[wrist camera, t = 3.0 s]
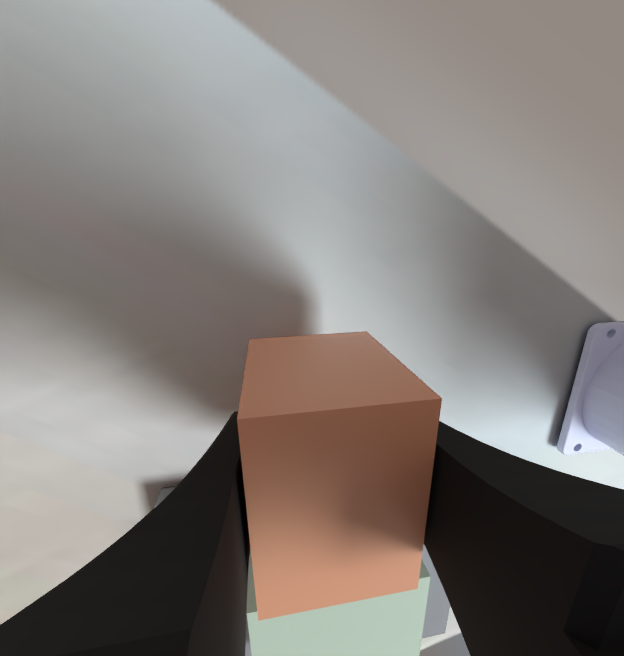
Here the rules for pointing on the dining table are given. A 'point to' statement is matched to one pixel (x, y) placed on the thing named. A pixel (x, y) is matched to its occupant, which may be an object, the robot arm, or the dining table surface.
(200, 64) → the dining table surface
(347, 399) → the top brick
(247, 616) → the tower base
